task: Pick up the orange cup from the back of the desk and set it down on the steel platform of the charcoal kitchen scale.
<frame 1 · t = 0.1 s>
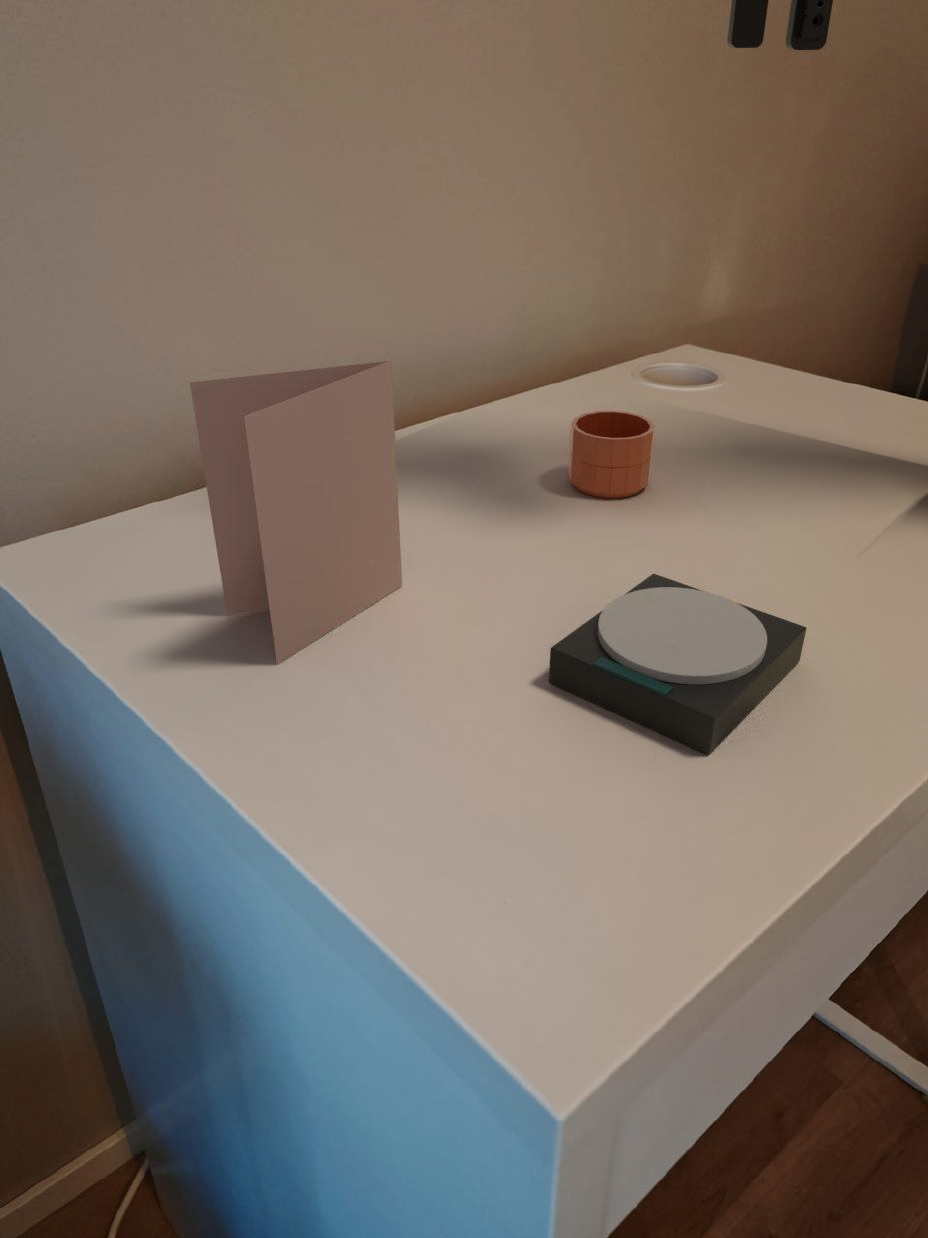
hand: (772, 48, 60), 30 cm above the table, tool pointing down, fingers open, 8 cm apart
scale: (675, 672, 55), on the table
greeting card: (326, 624, 60), on the table
orange cup: (608, 483, 78), on the table
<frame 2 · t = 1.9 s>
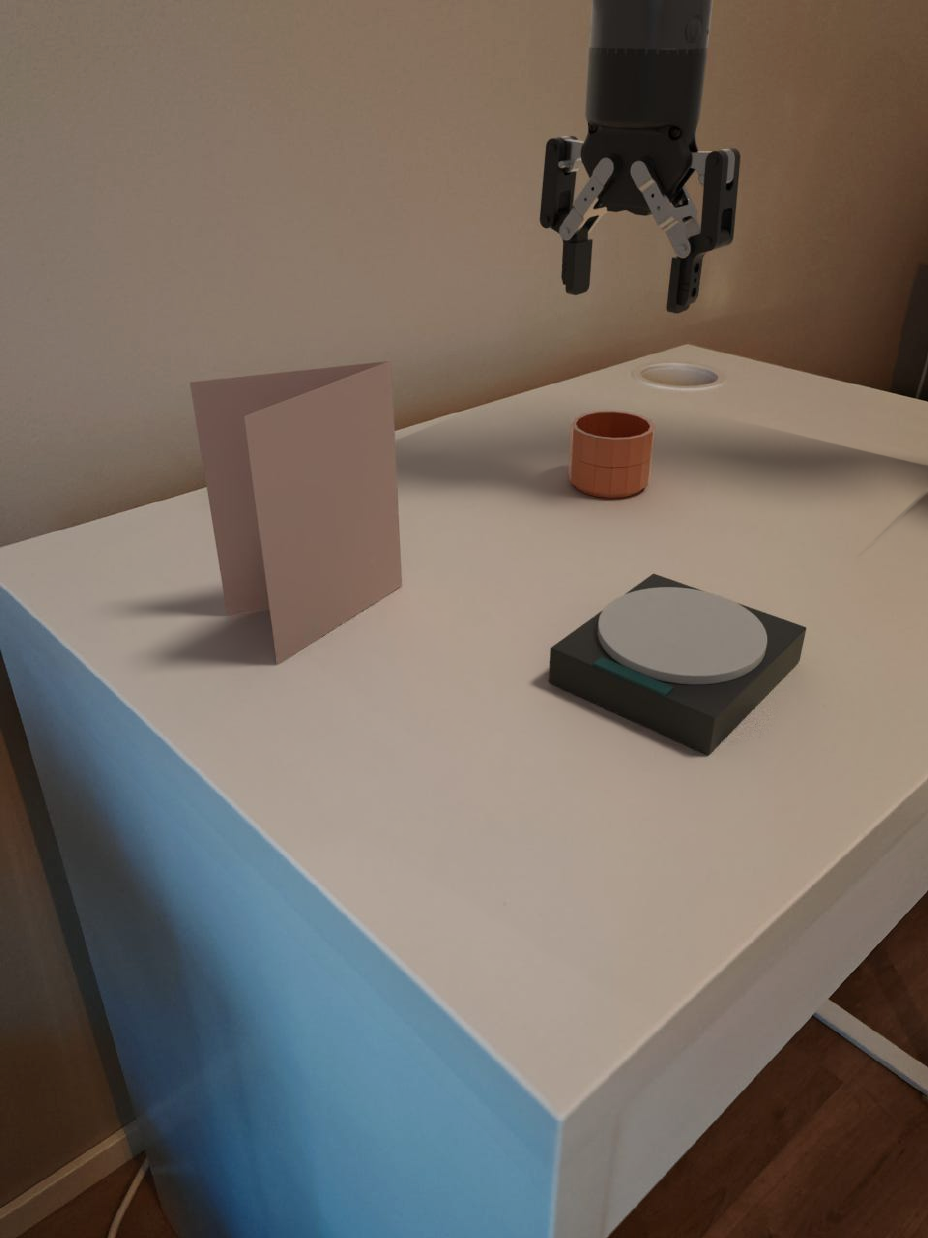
hand: (625, 301, 70), 14 cm above the table, tool pointing down, fingers open, 8 cm apart
nothing on the table moved.
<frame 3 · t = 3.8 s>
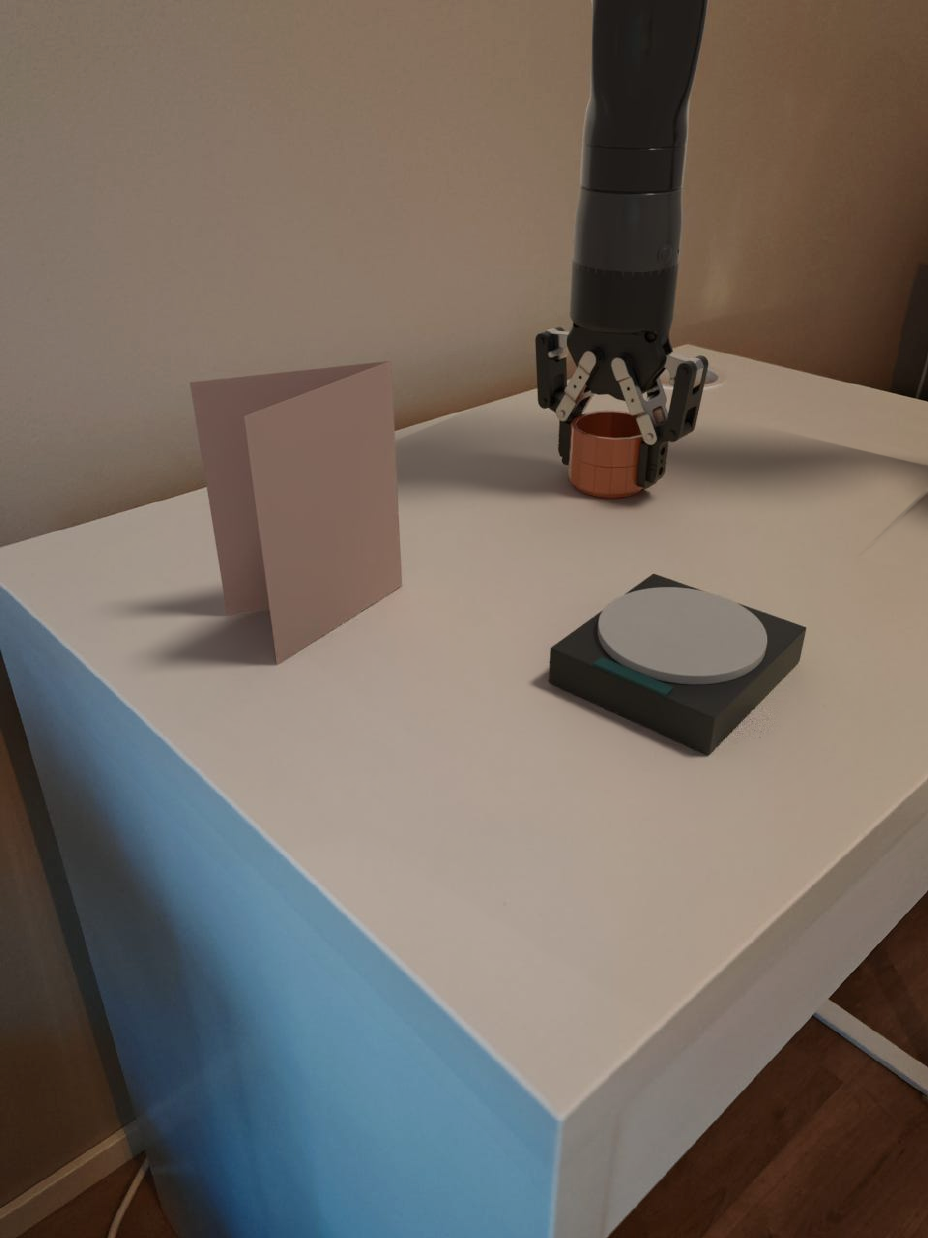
hand: (608, 472, 77), 1 cm above the table, tool pointing down, fingers closed on orange cup, 6 cm apart
orange cup: (608, 483, 78), on the table, touching gripper
everything else where it was.
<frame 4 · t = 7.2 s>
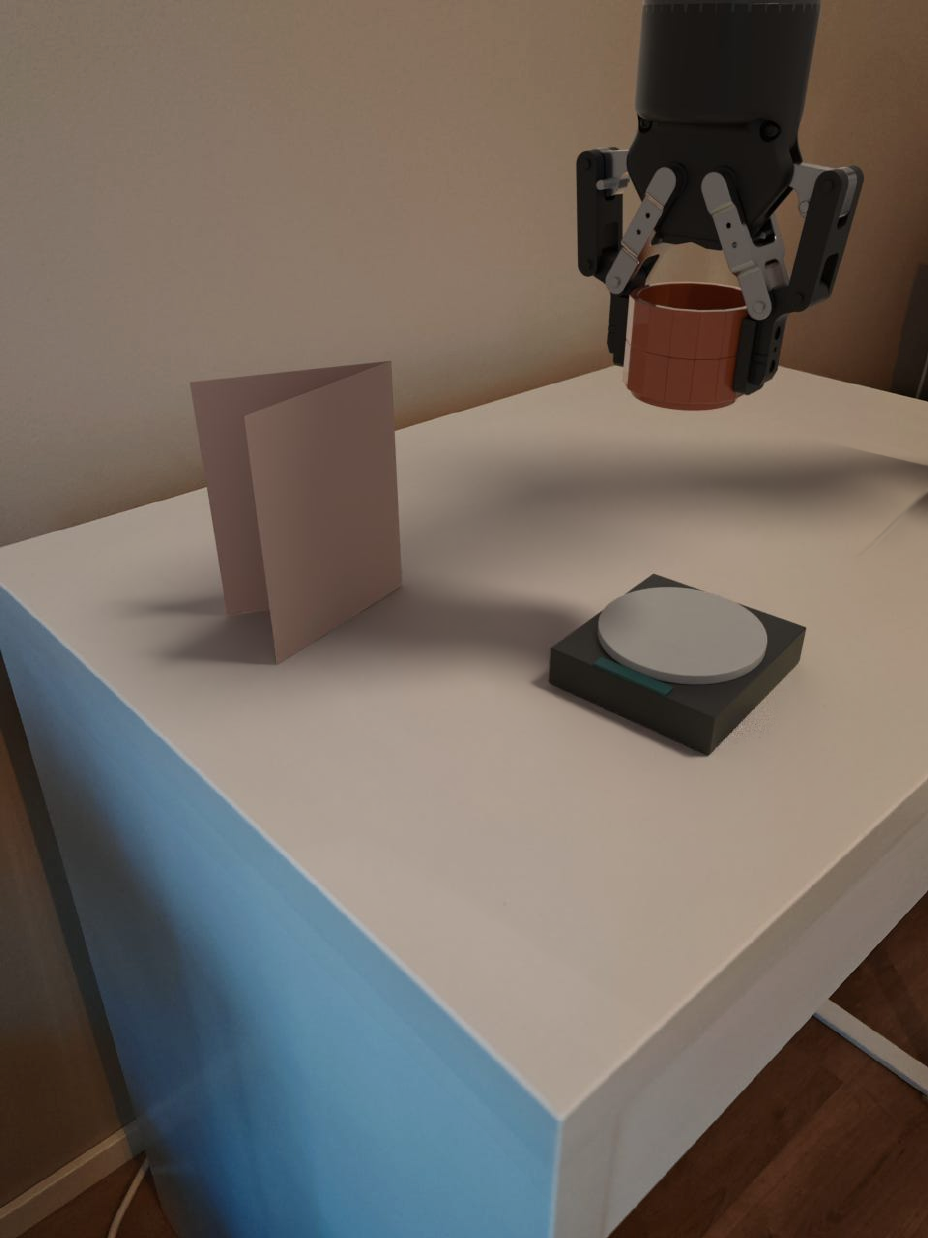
hand: (685, 375, 50), 16 cm above the table, tool pointing down, fingers closed on orange cup, 6 cm apart
orange cup: (683, 393, 51), point 15 cm above the table, touching gripper
everything else where it was.
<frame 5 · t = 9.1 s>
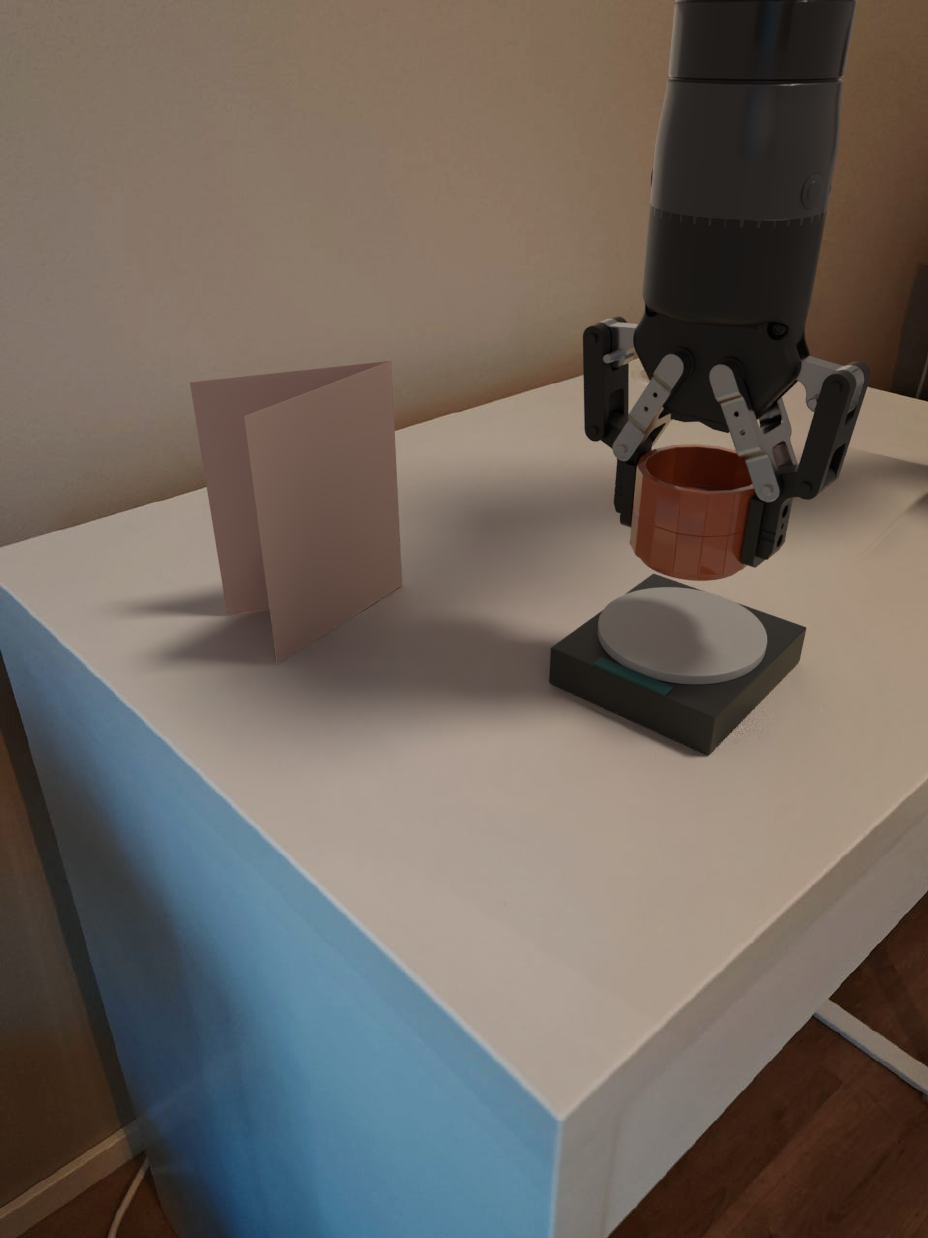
hand: (692, 539, 51), 8 cm above the table, tool pointing down, fingers closed on orange cup, 6 cm apart
orange cup: (690, 555, 51), point 8 cm above the table, touching gripper
everything else where it was.
when the fingers open (4 cm above the table, at t = 10.8 s): orange cup stays where it is, resting on scale.
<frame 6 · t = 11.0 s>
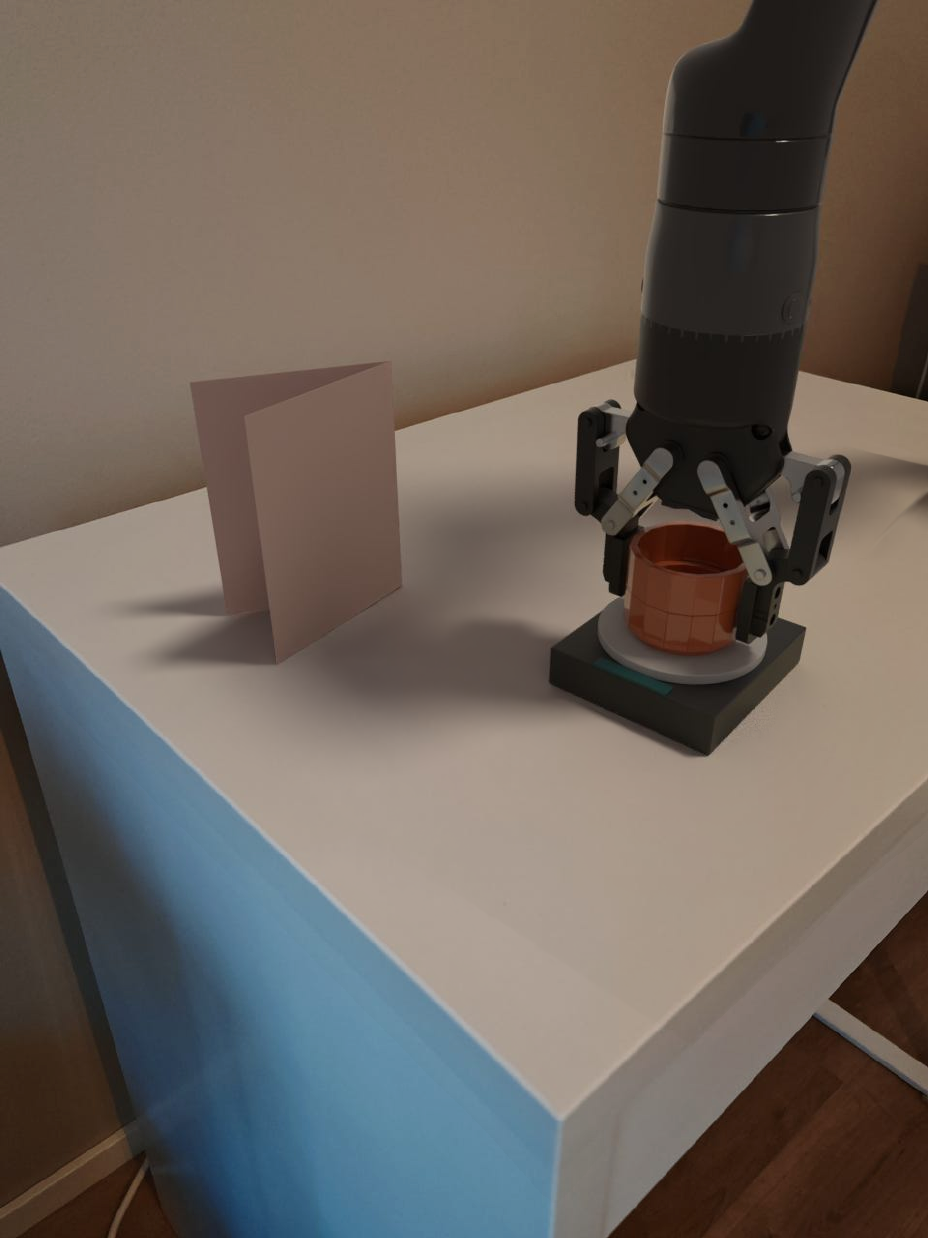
hand: (683, 611, 53), 4 cm above the table, tool pointing down, fingers open, 7 cm apart
orange cup: (681, 628, 54), point 3 cm above the table, touching scale
everything else where it was.
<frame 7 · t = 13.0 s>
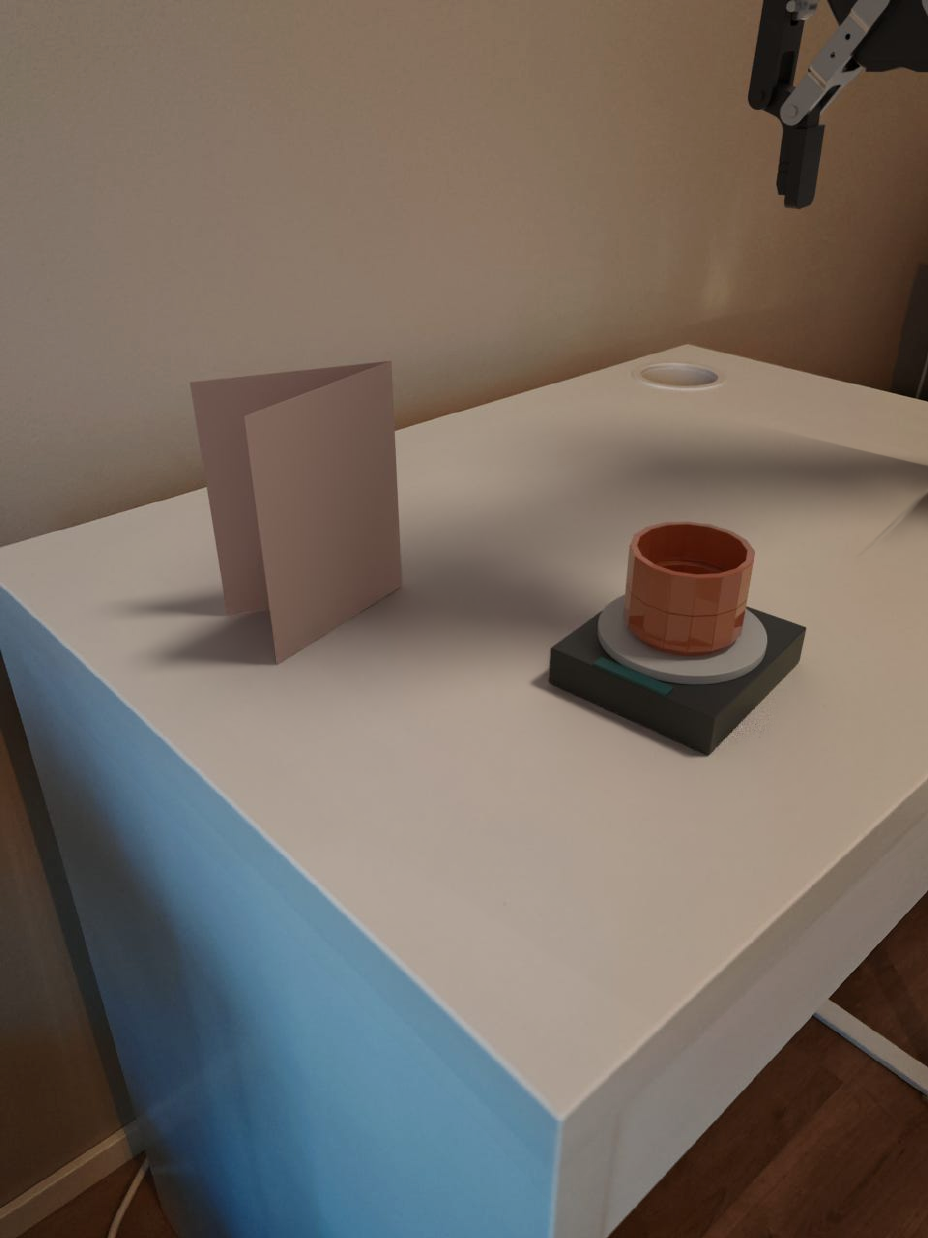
hand: (881, 213, 47), 24 cm above the table, tool pointing down, fingers open, 8 cm apart
nothing on the table moved.
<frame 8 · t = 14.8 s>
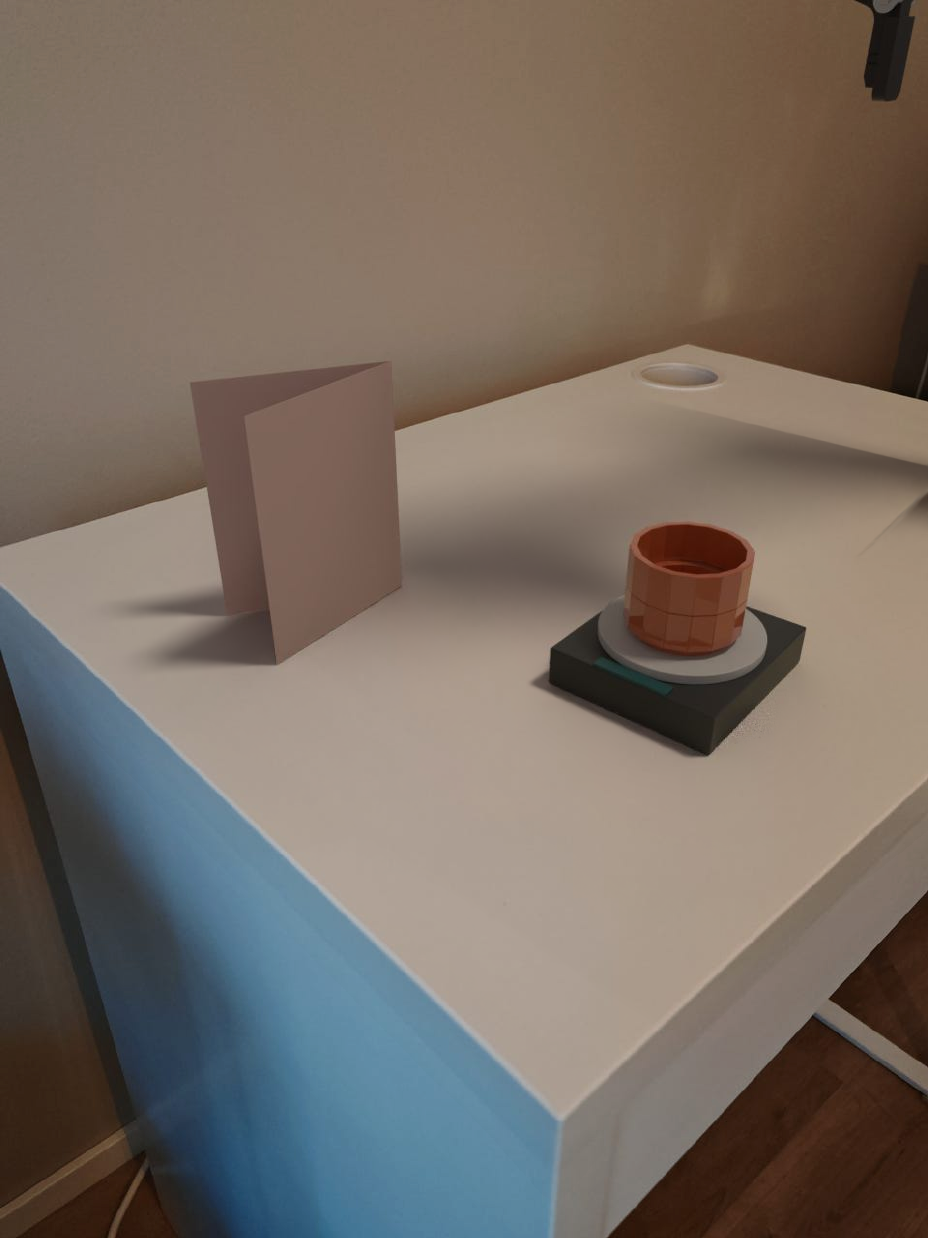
nothing on the table moved.
at the end: orange cup 0.0 cm off-centre on the scale, point 3.0 cm above the scale's base; orange cup tilted 0°; the gripper is holding nothing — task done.
